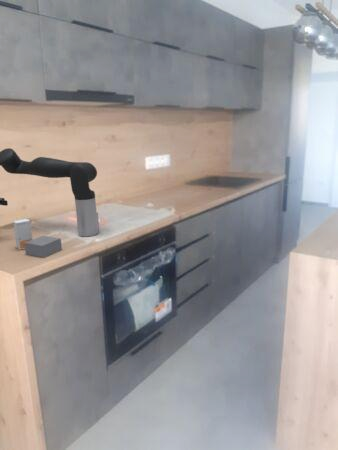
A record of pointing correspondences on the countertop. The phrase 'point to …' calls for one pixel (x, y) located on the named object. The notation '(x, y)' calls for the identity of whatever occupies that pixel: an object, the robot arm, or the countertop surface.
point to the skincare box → (22, 232)
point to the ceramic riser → (43, 246)
